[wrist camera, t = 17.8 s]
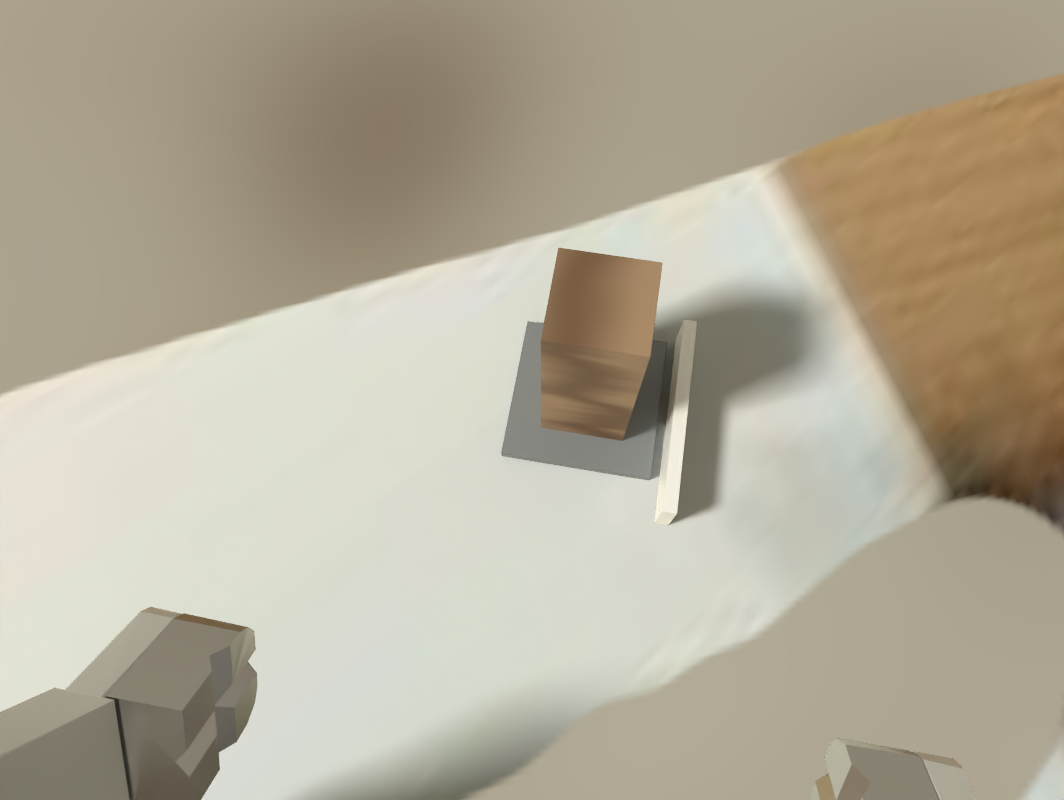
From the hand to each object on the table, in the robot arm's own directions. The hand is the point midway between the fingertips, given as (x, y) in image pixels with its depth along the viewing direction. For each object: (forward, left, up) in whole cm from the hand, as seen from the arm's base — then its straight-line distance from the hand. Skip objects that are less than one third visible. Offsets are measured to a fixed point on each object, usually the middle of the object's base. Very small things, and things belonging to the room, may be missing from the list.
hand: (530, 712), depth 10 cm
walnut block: (0, -17, -31) cm, 35 cm away
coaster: (0, -17, -31) cm, 36 cm away
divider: (-6, -16, -31) cm, 36 cm away
